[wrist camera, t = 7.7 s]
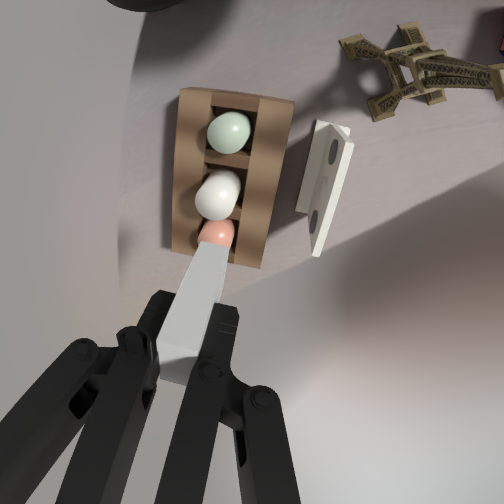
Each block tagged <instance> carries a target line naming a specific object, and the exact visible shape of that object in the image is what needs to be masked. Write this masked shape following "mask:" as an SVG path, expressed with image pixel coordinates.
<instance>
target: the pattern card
mask: <svg viewBox="0 0 504 504" xmlns="http://www.w3.org/2000/svg"><path fill="white" fill-rule="evenodd" d="M349 133H350V128H348V127H345V126H341V125H337V124H334V123H330V122H326V121H322V120H318V119H317V121H316V125H315V130H314V134H313V138H312V142H311V147H310V151H309V155H308V159H307V164H306V168H305V172H304V176H303V180H302V184H301V188H300V192H299V196H298V200H297V204H296V208H295V211H297V212H302V213H307V214H308V223H309V233H310V243H311V253H312V256H316V257H319V256H320V254H321V251H322V248H323V245H324V242H325V239H326V236H327V233H328V230H329V227H330V224H331V221H332V218H333V215H334V211H335V208H336V205H337V202H338V199H339V195H340V192H341V189H342V186H343V182H344V179H345V176H346V172H347V169H348V165H349V162H350V158H351V155H352V151H353V148H354V143H353V142H352V140H351V139H350V138H349Z"/></svg>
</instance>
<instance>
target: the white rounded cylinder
mask: <svg viewBox="0 0 504 504" xmlns="http://www.w3.org/2000/svg"><path fill="white" fill-rule="evenodd" d="M240 190H241V181H240V178H239V177H238V175H237V174H236V173H235V172H233V171H232V170H229V169H225V168H221V169H217V170H215V171H213V172H212V173H211V174H210V175H209V176H208V178H207V179H206V181H205V182H204V184H203V185H202V186H201V188H200V189H199V191H198V192H197V194H196V197H195V205H196V208H197V210H198V212H199V213H200V214H201V215H202V216H203V217H205V218H207V219H209V220H213V221H219V220H223V219H225V218H227V217H228V216H229V215H230V214H231V213H232V211H233V208H234V206H235V203H236V201H237V198H238V195H239V193H240Z"/></svg>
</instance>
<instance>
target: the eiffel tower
mask: <svg viewBox="0 0 504 504" xmlns="http://www.w3.org/2000/svg"><path fill="white" fill-rule="evenodd" d="M398 26H399V28H400V30H401V33H402V35H403V37H404V39H405V42H406V44H407V45H406V46H402V47H398V48H393V49H389V50H382V49H381V48H379V47H377V46H376V45H374V44H372V43H371V42H369V41H367V40H366V39H364V37H363V36H362V34H359V35H355V36H352V37H348V38H345V39H342V40H340V42H341V44H342V46H343V48H344V50H345V52H346V55H347V57H348V59H349V61H352V60H355V59H359V58H368V59H377V60H381V62H382V63H383V65H384V67H385V69H386V71H387V73H388V75H389V78H390V81H391V85H392V90H393V91H391V92H390V93H388V94H386V95H382V96H379V97H376V98H373V99H370V100H367V103H368V106H369V108H370V111H371V114H372V116H373V119H374V122H377V121H380V120H383V119H386V118H389V117H392V116H395V114H394V113H395V112H394V111H395V109H396V107H397V105H398V103H399V101H400V100H401V99H403V100H405V99H408V98H411V97H415V96H418V95H422V94H425V95H426V98H427V101H428V104H429V105H433V104H436V103H440V102H444V101H447V100H446V96H445V93H444V90H443V89H444V88H475V89H491V90H494V93H495V98H496V101H498V100H502V99H504V63H501V64H494V65H488V66H485V65H482V64H478V63H474V62H470V61H466V60H462V59H458V58H453V57H448V56H447V54H446V51H445V50H443V49H441V50H434V51H433V50H431V49H430V48H429V45H428V42H426V40H425V37H424V35H423V33H422V30H421V28H420V26H419V24H418V22H417V21H416V22H411V23H405V24H400V25H398ZM399 65H402V66H405V67H408V68H410V71H411V74H412V76H413V79H414V81H413V82H411V83H409V84H407V83H406V81H405V79H404V76H403V74H402V71H401V68H400V66H399ZM422 70H424V74H423V71H422ZM424 76H425V77H424Z"/></svg>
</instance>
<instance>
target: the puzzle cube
mask: <svg viewBox="0 0 504 504" xmlns="http://www.w3.org/2000/svg"><path fill="white" fill-rule="evenodd" d="M500 52H501V54H502V55H503V56H504V38H503V42H502V45H501V49H500Z"/></svg>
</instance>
